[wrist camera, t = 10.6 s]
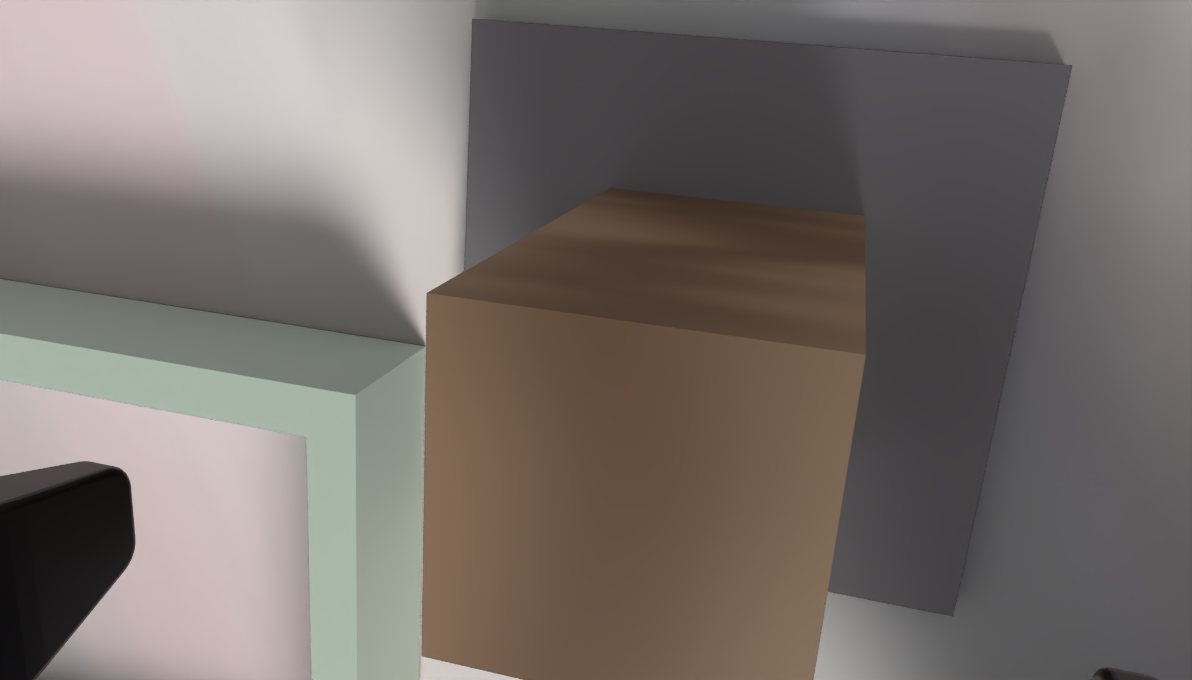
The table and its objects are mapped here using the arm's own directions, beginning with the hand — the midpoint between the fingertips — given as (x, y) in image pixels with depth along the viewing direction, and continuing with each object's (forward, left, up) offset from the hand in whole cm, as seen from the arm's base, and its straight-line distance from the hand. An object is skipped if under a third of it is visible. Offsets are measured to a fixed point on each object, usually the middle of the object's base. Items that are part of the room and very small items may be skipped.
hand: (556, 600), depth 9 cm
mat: (0, 0, -10) cm, 10 cm away
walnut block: (0, 0, -10) cm, 10 cm away
